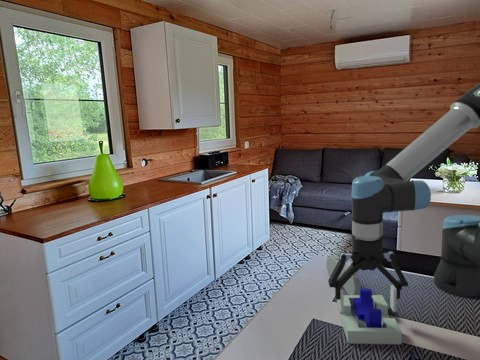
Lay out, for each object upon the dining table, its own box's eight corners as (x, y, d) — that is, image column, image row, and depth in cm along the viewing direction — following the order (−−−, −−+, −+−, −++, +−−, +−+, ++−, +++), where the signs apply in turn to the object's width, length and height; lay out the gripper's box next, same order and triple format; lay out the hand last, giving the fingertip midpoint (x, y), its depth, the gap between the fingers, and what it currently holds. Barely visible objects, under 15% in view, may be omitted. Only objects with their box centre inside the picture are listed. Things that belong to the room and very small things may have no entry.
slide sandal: (361, 300, 109) (361, 275, 108) (354, 301, 109) (354, 276, 107) (332, 273, 128) (331, 251, 126) (326, 274, 128) (326, 252, 126)
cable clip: (354, 307, 104) (354, 288, 102) (370, 307, 103) (370, 288, 102) (363, 332, 92) (363, 312, 91) (381, 333, 91) (381, 312, 90)
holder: (382, 305, 105) (382, 295, 105) (401, 344, 88) (401, 331, 88) (337, 305, 107) (337, 295, 106) (347, 343, 90) (347, 331, 89)
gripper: (412, 229, 95) (410, 301, 99) (317, 232, 98) (319, 301, 102) (423, 239, 87) (420, 317, 92) (320, 242, 91) (322, 317, 95)
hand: (367, 309), depth 97 cm, fingers open, 13 cm apart
